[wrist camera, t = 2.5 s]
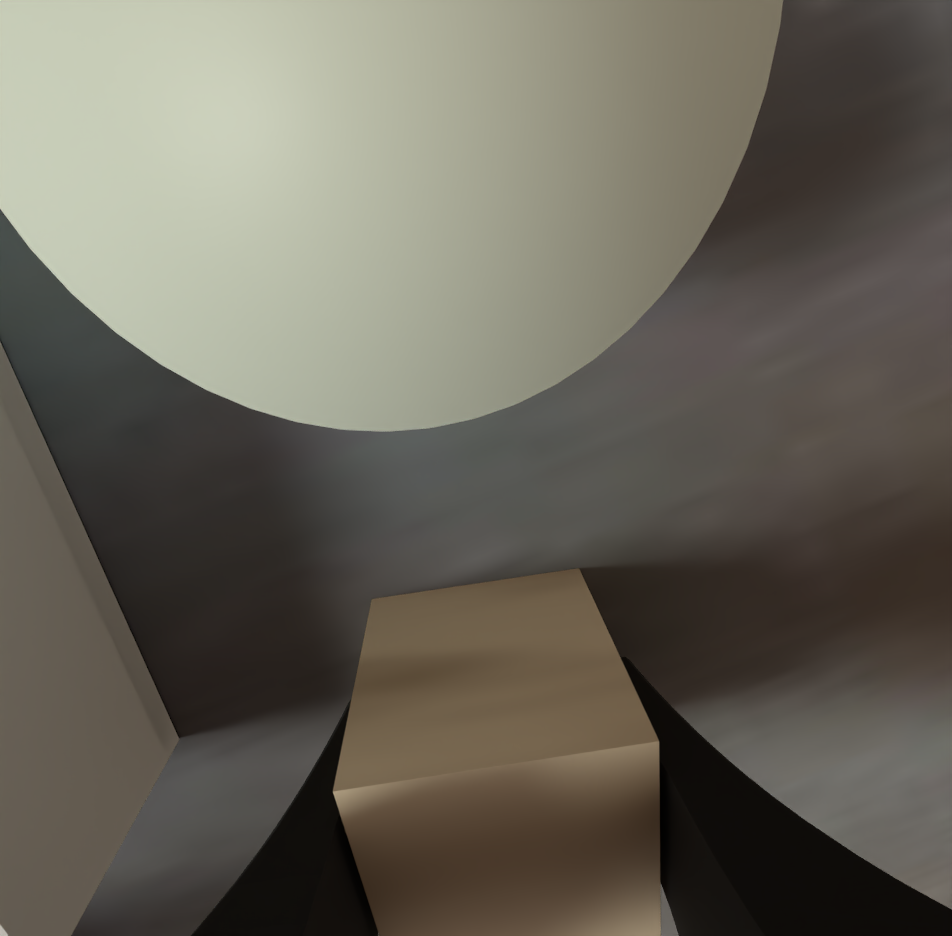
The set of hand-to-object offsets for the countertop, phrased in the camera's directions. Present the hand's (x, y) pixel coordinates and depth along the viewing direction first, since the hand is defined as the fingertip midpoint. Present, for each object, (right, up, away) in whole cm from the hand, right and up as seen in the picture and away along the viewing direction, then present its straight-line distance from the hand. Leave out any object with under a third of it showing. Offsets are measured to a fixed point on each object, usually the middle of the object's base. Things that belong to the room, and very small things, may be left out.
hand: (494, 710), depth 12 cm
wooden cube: (0, +1, +1) cm, 2 cm away
